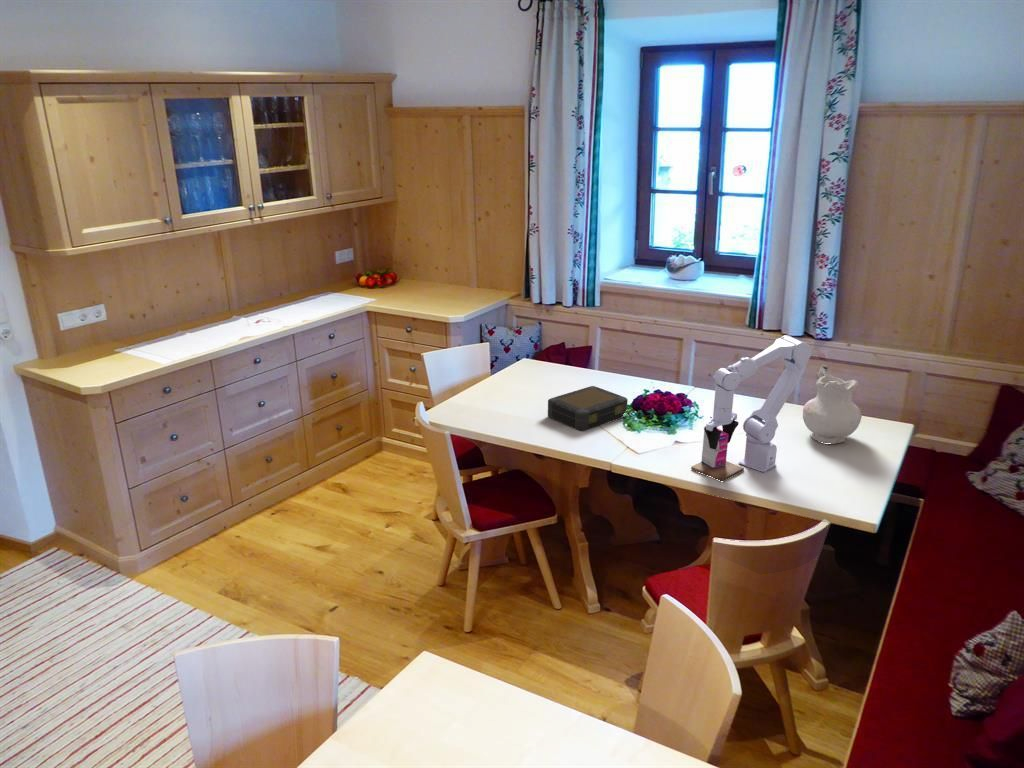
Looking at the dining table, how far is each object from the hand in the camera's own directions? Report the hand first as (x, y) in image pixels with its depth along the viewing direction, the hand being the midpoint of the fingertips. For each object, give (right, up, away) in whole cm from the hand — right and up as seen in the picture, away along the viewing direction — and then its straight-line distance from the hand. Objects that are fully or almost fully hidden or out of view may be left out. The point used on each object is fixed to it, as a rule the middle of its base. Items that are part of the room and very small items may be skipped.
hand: (719, 445), depth 255 cm
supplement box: (-1, -7, +5) cm, 8 cm away
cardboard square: (0, -9, +3) cm, 10 cm away
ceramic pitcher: (+46, +1, +28) cm, 54 cm away
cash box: (-38, +7, +48) cm, 62 cm away
